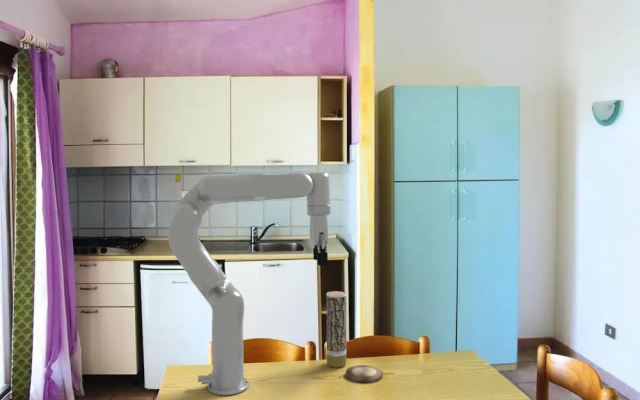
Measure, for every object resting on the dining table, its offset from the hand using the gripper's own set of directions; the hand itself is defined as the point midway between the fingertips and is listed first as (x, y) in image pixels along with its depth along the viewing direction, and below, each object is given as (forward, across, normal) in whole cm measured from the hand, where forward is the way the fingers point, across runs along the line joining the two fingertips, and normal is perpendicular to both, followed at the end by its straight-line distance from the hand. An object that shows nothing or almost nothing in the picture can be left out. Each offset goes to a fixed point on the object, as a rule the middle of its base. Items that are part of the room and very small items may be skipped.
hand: (320, 262), depth 174 cm
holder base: (+38, +4, +13) cm, 40 cm away
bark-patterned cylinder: (+38, -6, +5) cm, 39 cm away
